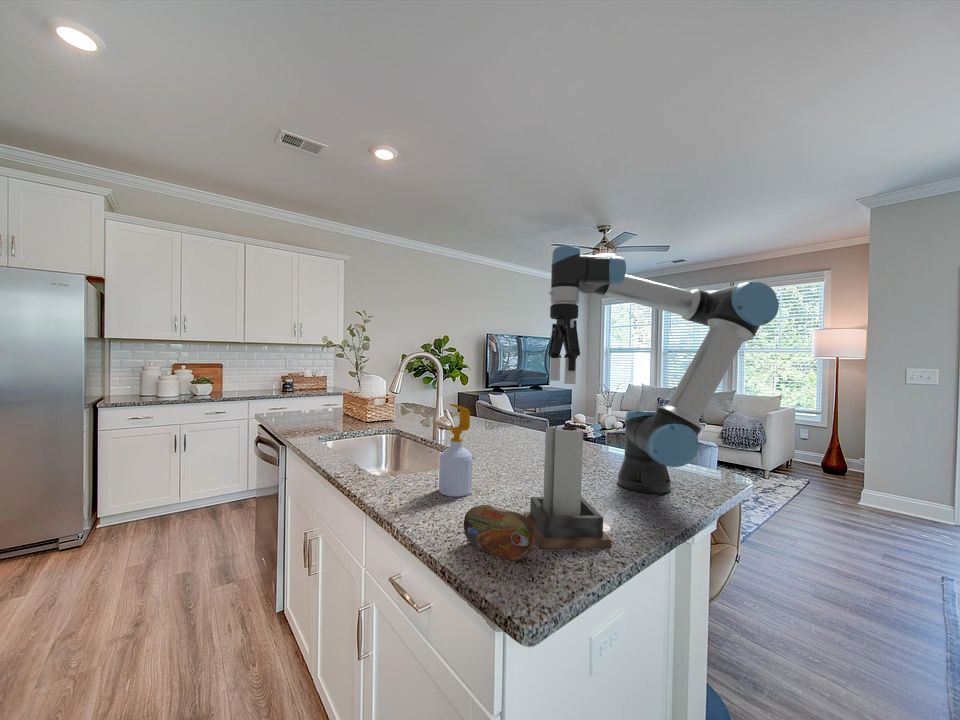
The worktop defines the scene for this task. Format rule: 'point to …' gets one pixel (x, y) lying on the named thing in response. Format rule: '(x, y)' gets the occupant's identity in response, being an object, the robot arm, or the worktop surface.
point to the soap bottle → (456, 461)
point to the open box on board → (567, 527)
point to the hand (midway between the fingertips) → (561, 382)
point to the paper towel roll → (563, 471)
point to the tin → (499, 532)
